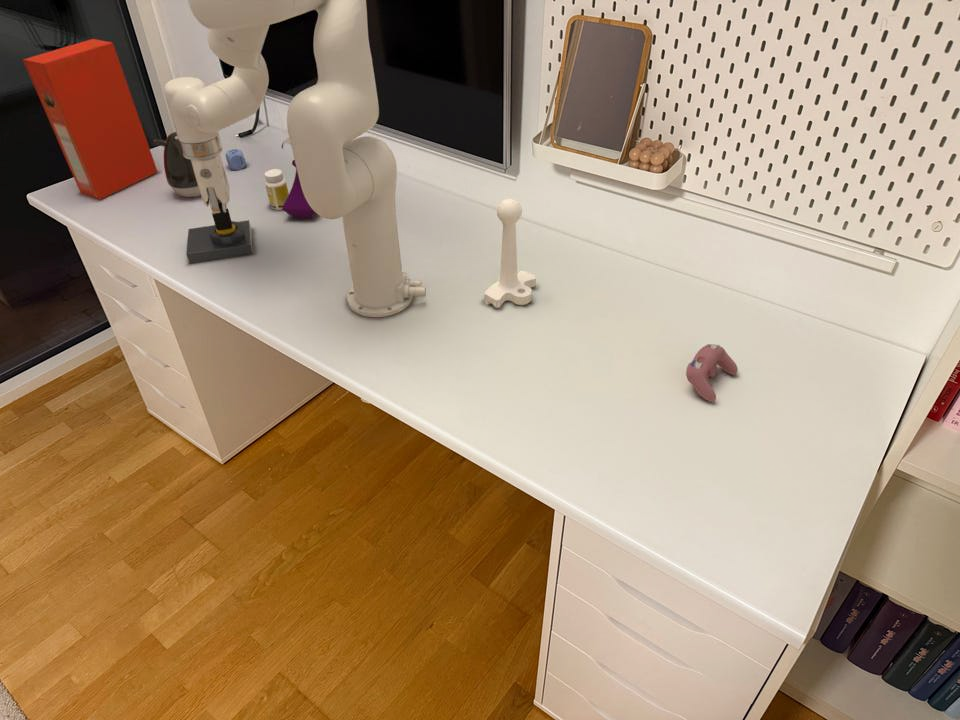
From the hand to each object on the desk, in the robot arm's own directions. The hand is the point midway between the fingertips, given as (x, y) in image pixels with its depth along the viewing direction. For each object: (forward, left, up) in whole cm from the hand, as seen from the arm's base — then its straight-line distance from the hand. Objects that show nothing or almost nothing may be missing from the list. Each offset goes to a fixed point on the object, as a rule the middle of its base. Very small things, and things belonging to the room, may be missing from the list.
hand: (224, 227), depth 148 cm
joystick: (-63, +16, -5) cm, 65 cm away
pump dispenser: (+18, -25, -5) cm, 32 cm away
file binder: (+40, -30, -5) cm, 50 cm away
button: (0, 0, -2) cm, 2 cm away
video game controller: (-96, +39, -5) cm, 103 cm away
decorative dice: (+12, -40, -5) cm, 42 cm away
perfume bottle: (-13, -15, -5) cm, 20 cm away
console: (+2, 0, -5) cm, 5 cm away
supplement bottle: (-6, -19, -5) cm, 21 cm away
